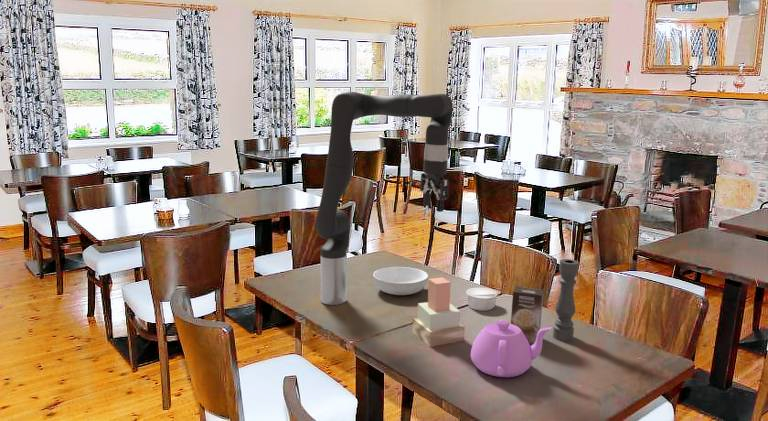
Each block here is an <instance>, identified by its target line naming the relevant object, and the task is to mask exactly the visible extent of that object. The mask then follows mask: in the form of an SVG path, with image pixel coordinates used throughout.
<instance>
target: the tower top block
mask: <svg viewBox="0 0 768 421" xmlns="http://www.w3.org/2000/svg"><path fill="white" fill-rule="evenodd" d="M417 318H418V319H419V320H420V321H421V322H422V323H423V324H424V325H425V326H426V327H427V328H428V329H429V330H434V329H442V328H451V327H459V324H461V322H460V321H461V319H460V318H461V310H459V309H458V308H457V307H455V306H454V305H453V304H452V303H451V302H450V309H449V310H444V311H438V312H435V311H433V310H432V309H431V308H429V307H428V301H426V302H417Z"/></svg>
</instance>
